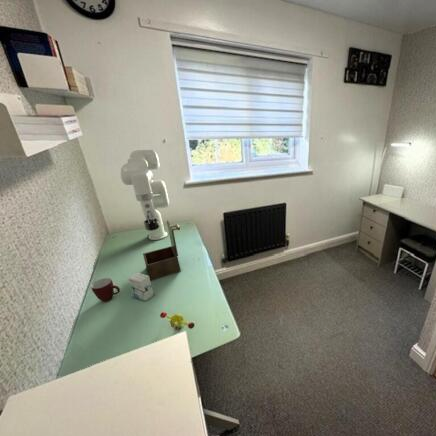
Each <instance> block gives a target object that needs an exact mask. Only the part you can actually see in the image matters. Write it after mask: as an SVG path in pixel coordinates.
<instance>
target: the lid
mask: <svg viewBox="0 0 436 436" xmlns="http://www.w3.org/2000/svg"><path fill="white" fill-rule="evenodd" d="M166 225H167V230H168V235H169V240H170V246H172V247H173V250H174V252H175V254H176V256H177V257H179V253H178V248H177V243H176V236H175V233H174V231H180V230H181V227H180V225H179V224H178V223H176V224H175V225H172V224H170V222H169V220H166Z"/></svg>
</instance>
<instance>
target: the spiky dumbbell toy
mask: <svg viewBox="0 0 436 436" xmlns="http://www.w3.org/2000/svg"><path fill="white" fill-rule="evenodd" d="M159 316H160V318H161V319H165V318H166V319H168V320H167V323H169V324H170V327H172V328H174V329H177V330H180V329H181V328H182V325H184V326H187V328H188V329H190V330H192V329H194V327H195V323H194V322H193V321H191V322H189V323H188V322H187V321H184V316H183V315H182V314H180V313H175V314H173V315H172V316H170V315H168V313H167V312H166V311H162V312H161V313H160V314H159Z"/></svg>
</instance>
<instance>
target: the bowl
mask: <svg viewBox="0 0 436 436" xmlns="http://www.w3.org/2000/svg"><path fill="white" fill-rule="evenodd" d="M149 220H150V219H149ZM154 222H155V225H156V229H158V227H159V223H158V220H157V219H154ZM143 224H144V229H145V230H146V231H149V232H150V231H152V230H150V229H149V225H148V220H147V219H146V220H144V221H143ZM156 229H155V230H156Z"/></svg>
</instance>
